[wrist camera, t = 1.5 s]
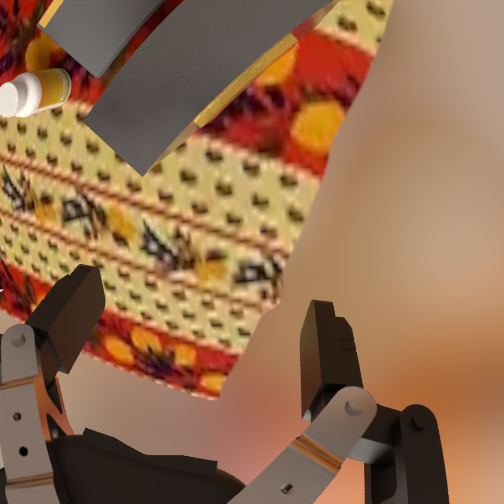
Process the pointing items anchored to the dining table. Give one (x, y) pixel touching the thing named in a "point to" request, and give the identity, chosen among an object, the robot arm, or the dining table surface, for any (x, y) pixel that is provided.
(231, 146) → the dining table surface
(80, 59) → the mat
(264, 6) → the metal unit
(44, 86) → the supplement bottle
